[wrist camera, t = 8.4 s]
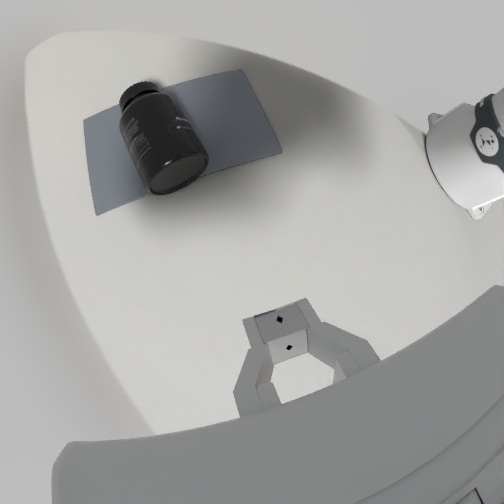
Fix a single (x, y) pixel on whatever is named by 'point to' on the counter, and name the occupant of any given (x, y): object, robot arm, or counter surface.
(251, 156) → the mat
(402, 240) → the counter surface
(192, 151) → the supplement bottle
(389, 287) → the counter surface
